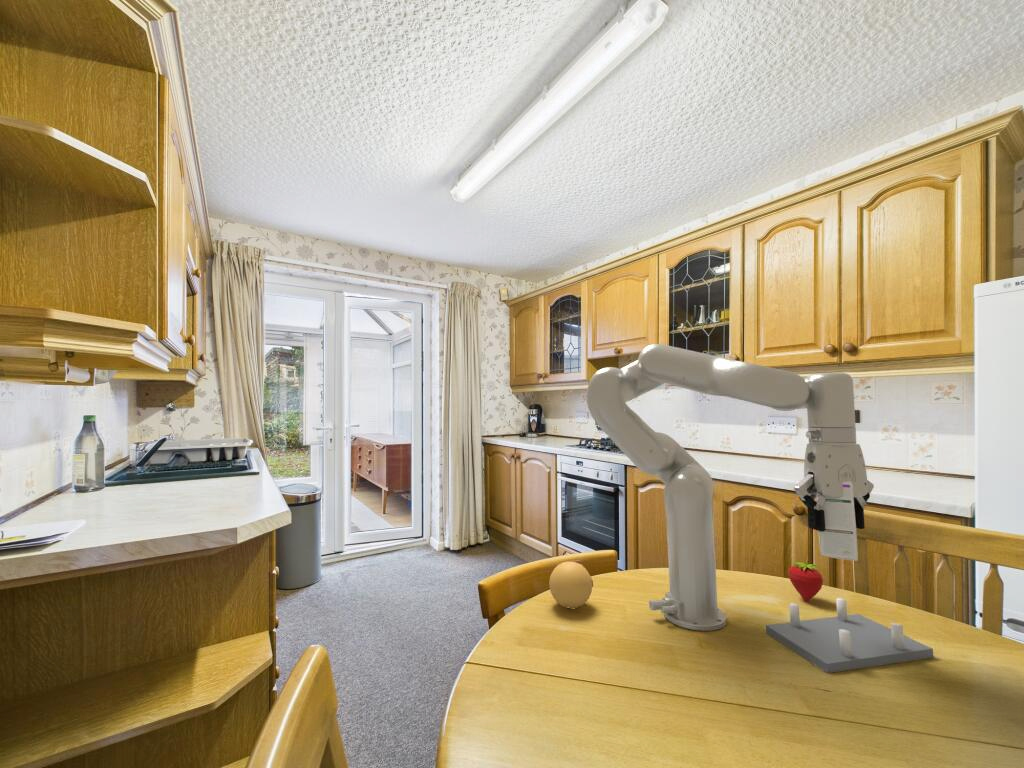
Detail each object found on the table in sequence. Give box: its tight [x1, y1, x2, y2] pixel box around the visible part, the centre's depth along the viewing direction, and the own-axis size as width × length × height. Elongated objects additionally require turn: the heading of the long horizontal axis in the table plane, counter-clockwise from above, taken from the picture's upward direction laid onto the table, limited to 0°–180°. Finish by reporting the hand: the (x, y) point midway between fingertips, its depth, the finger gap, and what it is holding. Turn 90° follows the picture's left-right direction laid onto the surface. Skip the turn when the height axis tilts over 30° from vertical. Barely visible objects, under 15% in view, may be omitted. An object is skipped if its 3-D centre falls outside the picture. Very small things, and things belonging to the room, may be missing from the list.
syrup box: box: [816, 480, 859, 562], centre depth 85 cm, size 6×6×14 cm
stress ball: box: [548, 560, 594, 609], centre depth 102 cm, size 10×10×10 cm
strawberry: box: [787, 556, 824, 602], centre depth 103 cm, size 6×8×10 cm
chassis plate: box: [765, 597, 934, 674], centre depth 84 cm, size 22×14×6 cm, turn 100°
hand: (836, 528), depth 85 cm, fingers closed on syrup box, 8 cm apart
